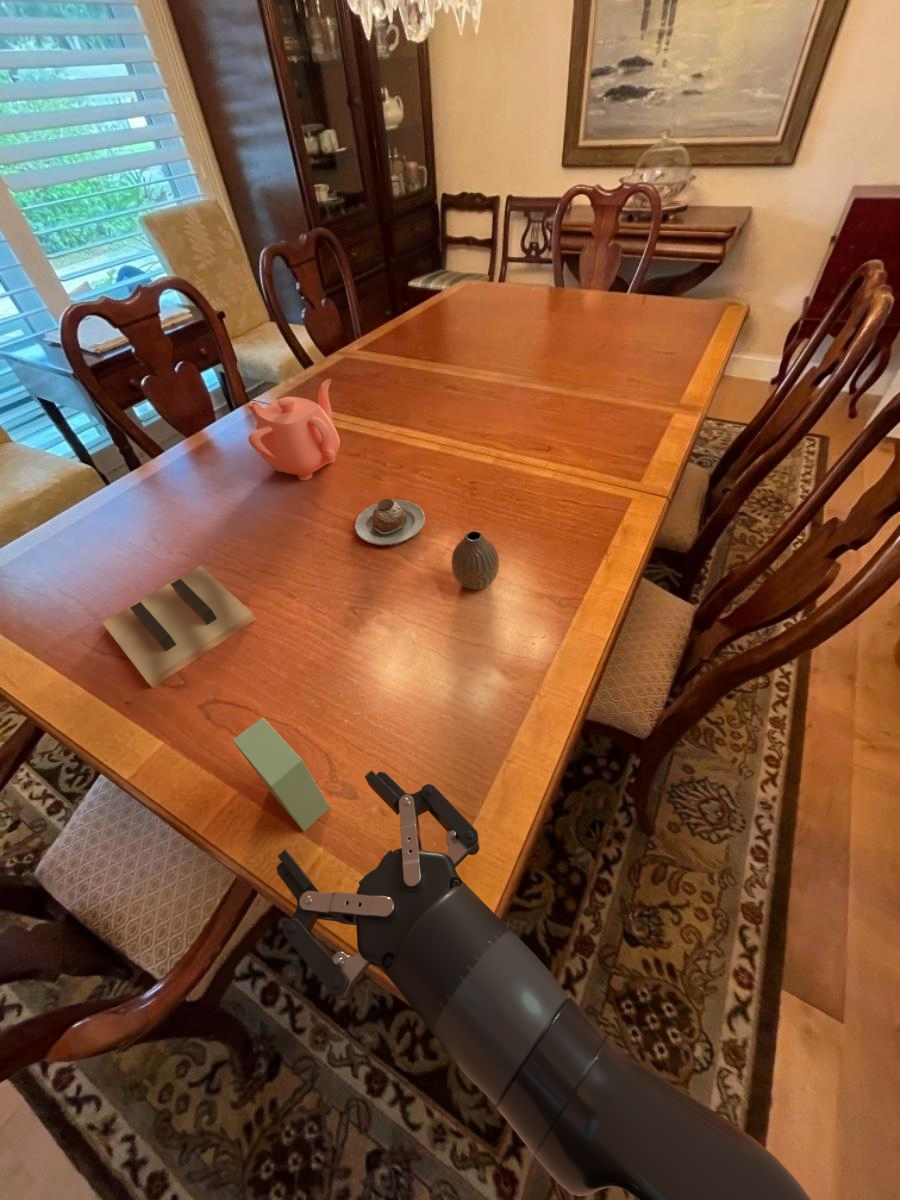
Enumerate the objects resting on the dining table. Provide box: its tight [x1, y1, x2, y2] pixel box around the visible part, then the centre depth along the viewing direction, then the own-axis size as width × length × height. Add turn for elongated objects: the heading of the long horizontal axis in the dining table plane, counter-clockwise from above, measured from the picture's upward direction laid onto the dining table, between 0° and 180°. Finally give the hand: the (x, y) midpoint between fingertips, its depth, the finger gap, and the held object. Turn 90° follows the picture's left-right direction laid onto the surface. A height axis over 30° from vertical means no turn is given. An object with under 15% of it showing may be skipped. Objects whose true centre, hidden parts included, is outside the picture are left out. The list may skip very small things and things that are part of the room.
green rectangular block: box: [232, 716, 331, 832], centre depth 55 cm, size 4×7×11 cm, turn 46°
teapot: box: [247, 378, 341, 481], centre depth 103 cm, size 16×17×14 cm
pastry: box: [354, 498, 426, 547], centre depth 90 cm, size 12×12×5 cm
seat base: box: [101, 565, 256, 689], centre depth 78 cm, size 16×16×4 cm
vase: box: [451, 529, 500, 591], centre depth 77 cm, size 7×7×9 cm
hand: (328, 814), depth 43 cm, fingers open, 8 cm apart
